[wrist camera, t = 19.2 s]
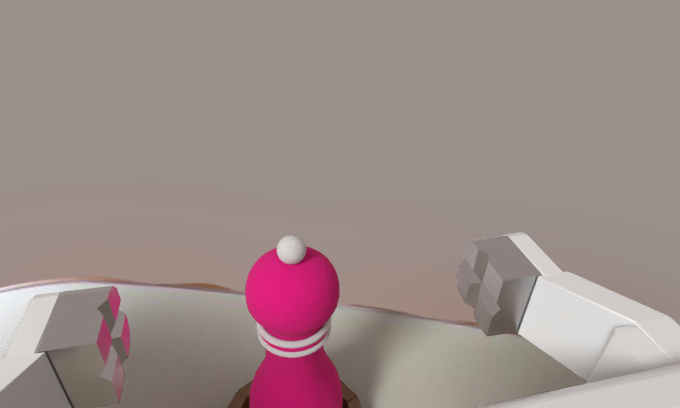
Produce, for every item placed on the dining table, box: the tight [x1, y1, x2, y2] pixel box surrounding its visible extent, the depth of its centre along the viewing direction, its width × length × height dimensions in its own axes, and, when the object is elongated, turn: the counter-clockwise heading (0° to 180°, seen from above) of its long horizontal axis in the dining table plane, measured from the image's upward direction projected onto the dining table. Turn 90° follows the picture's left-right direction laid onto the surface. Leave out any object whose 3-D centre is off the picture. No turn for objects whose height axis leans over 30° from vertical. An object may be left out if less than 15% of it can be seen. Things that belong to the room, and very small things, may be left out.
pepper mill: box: [245, 235, 343, 408], centre depth 33 cm, size 7×7×20 cm
